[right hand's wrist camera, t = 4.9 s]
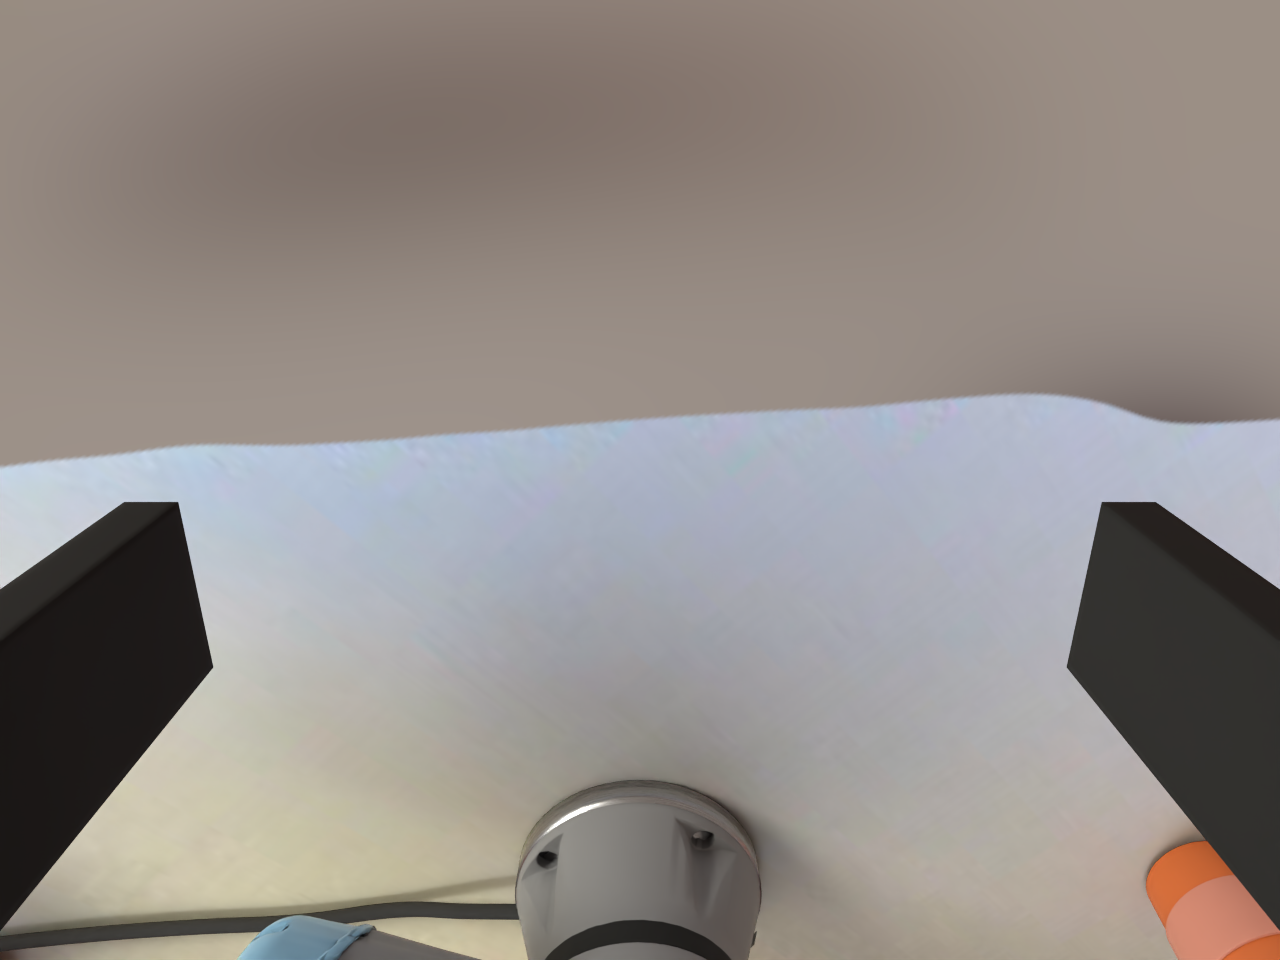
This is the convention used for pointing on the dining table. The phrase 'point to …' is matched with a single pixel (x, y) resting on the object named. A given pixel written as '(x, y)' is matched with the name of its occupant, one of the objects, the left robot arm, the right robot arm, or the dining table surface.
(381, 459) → the dining table surface
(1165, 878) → the cup with straw
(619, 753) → the dining table surface
